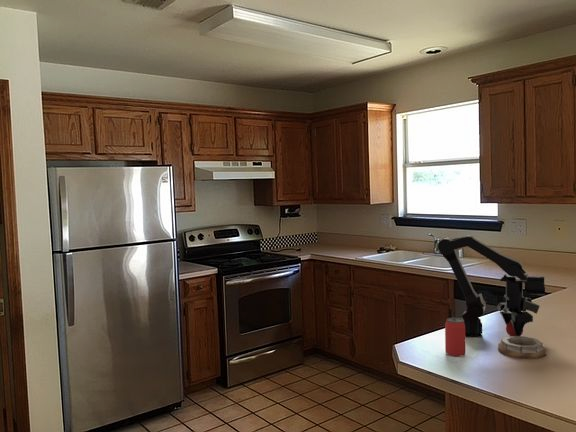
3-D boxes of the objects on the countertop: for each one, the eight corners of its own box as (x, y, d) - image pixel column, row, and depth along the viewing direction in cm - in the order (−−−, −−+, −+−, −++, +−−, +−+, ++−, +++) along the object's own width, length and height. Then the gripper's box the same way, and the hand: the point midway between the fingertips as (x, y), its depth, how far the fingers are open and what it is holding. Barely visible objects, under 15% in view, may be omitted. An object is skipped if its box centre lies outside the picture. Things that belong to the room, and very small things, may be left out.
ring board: (507, 358, 162) (507, 348, 162) (491, 344, 177) (491, 335, 177) (554, 358, 161) (554, 348, 161) (534, 344, 176) (534, 334, 176)
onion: (513, 342, 179) (513, 320, 179) (502, 337, 185) (502, 316, 184) (526, 340, 181) (526, 318, 180) (515, 335, 186) (515, 315, 186)
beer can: (461, 350, 172) (460, 316, 171) (468, 356, 165) (468, 321, 165) (442, 351, 172) (442, 317, 171) (449, 357, 165) (449, 322, 165)
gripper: (548, 298, 172) (548, 342, 173) (526, 287, 191) (526, 327, 191) (515, 299, 173) (515, 342, 174) (496, 288, 191) (497, 327, 192)
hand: (514, 334), depth 183 cm, fingers open, 7 cm apart
